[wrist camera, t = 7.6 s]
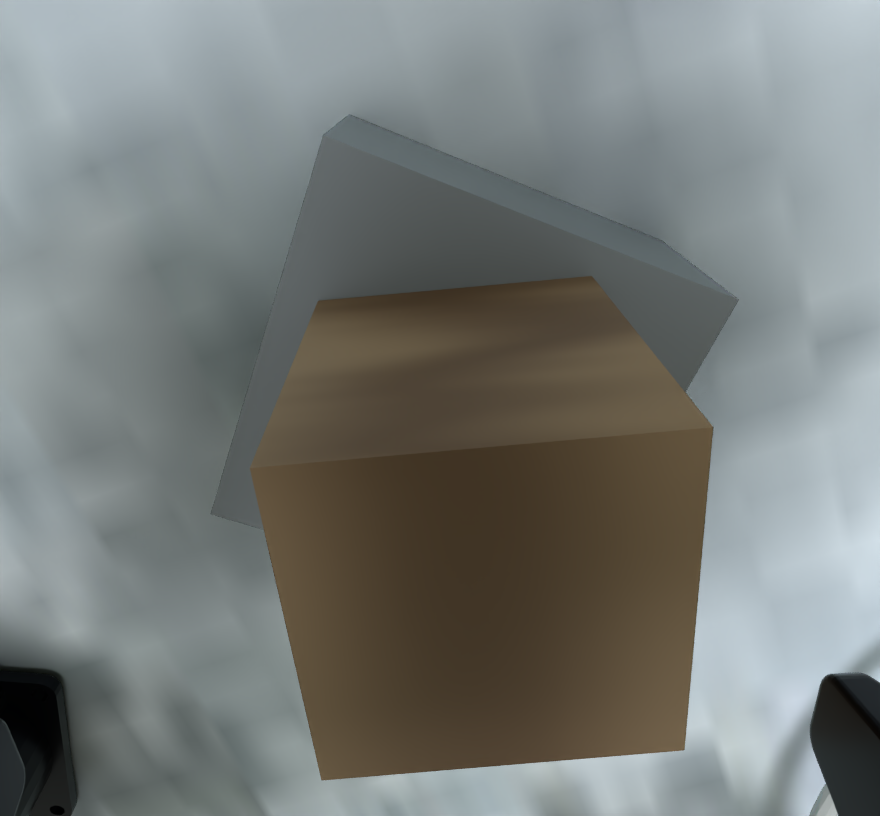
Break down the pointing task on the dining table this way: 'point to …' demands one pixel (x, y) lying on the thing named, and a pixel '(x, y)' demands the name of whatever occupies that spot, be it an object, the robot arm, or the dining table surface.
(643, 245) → the slate base
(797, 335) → the dining table surface
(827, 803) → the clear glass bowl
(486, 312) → the walnut block
